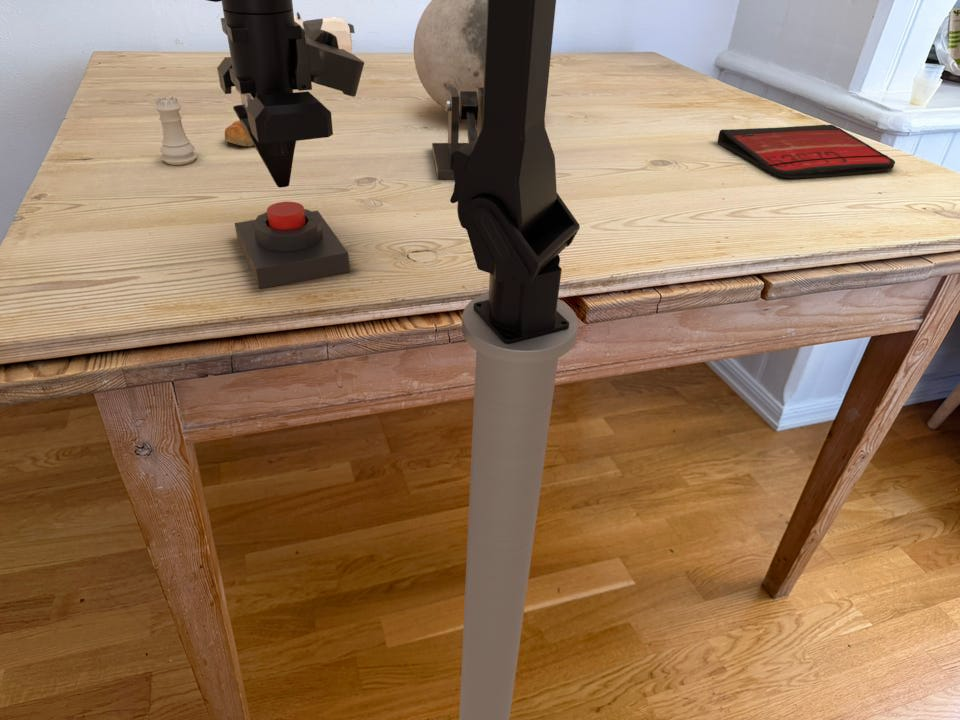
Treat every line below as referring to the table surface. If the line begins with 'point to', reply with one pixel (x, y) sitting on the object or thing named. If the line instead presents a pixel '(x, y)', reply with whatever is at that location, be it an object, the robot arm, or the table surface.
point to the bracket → (453, 135)
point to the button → (286, 216)
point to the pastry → (237, 134)
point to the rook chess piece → (173, 133)
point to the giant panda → (329, 29)
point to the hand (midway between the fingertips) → (282, 185)
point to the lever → (469, 112)
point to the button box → (291, 250)
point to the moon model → (451, 47)
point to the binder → (805, 151)
